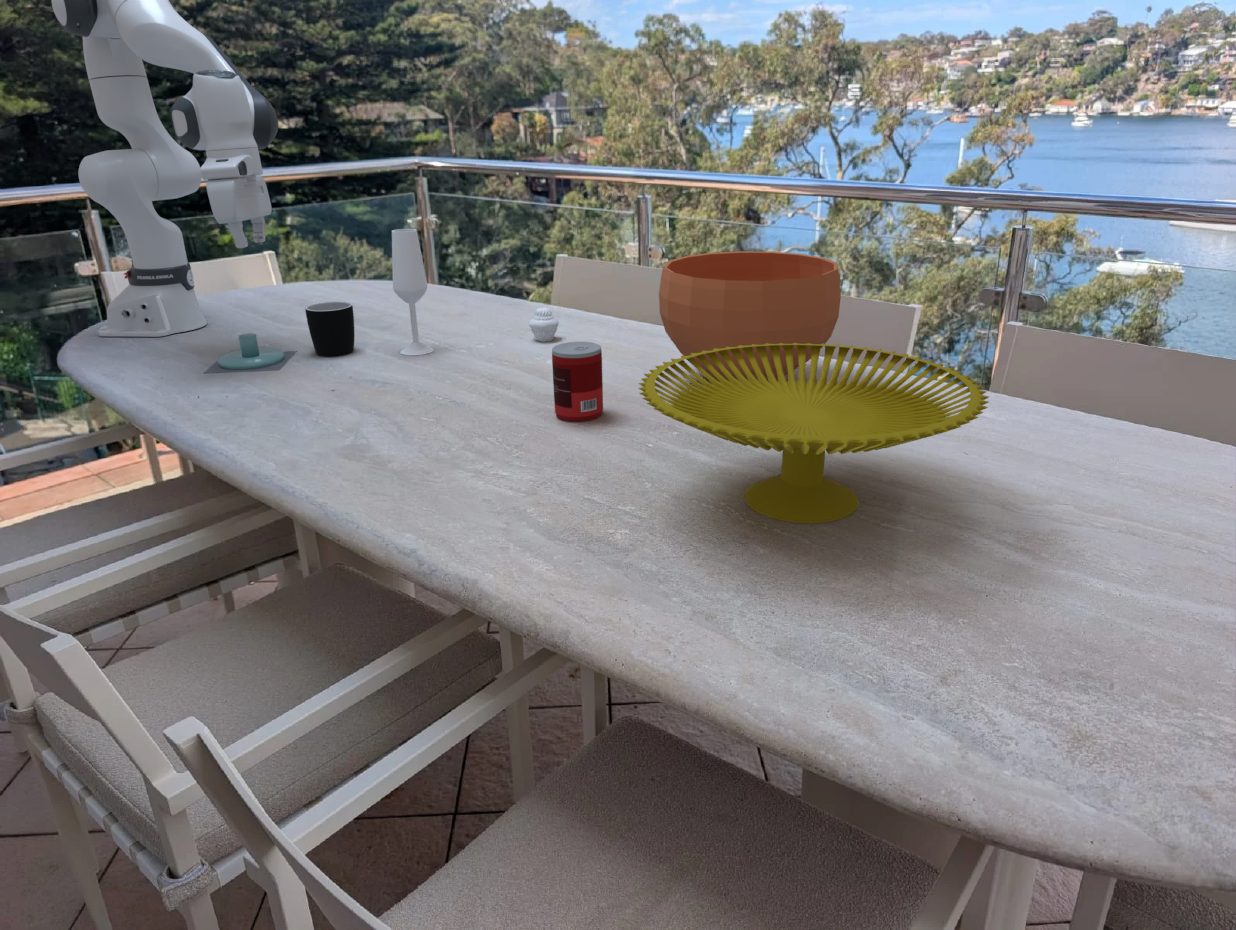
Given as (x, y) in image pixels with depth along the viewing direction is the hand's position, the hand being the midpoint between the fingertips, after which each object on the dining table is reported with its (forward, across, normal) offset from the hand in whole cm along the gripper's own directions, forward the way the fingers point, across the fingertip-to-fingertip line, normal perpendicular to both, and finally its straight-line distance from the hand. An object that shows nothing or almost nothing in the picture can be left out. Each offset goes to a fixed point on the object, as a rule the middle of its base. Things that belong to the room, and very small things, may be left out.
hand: (251, 244), depth 169 cm
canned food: (+28, +35, +59) cm, 74 cm away
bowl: (+29, +20, +88) cm, 95 cm away
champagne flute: (+24, -8, +26) cm, 36 cm away
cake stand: (+31, +70, +87) cm, 116 cm away
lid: (+22, -1, -5) cm, 23 cm away
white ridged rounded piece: (+25, -15, +52) cm, 59 cm away
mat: (+23, -1, -5) cm, 23 cm away
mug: (+23, -8, +9) cm, 26 cm away
